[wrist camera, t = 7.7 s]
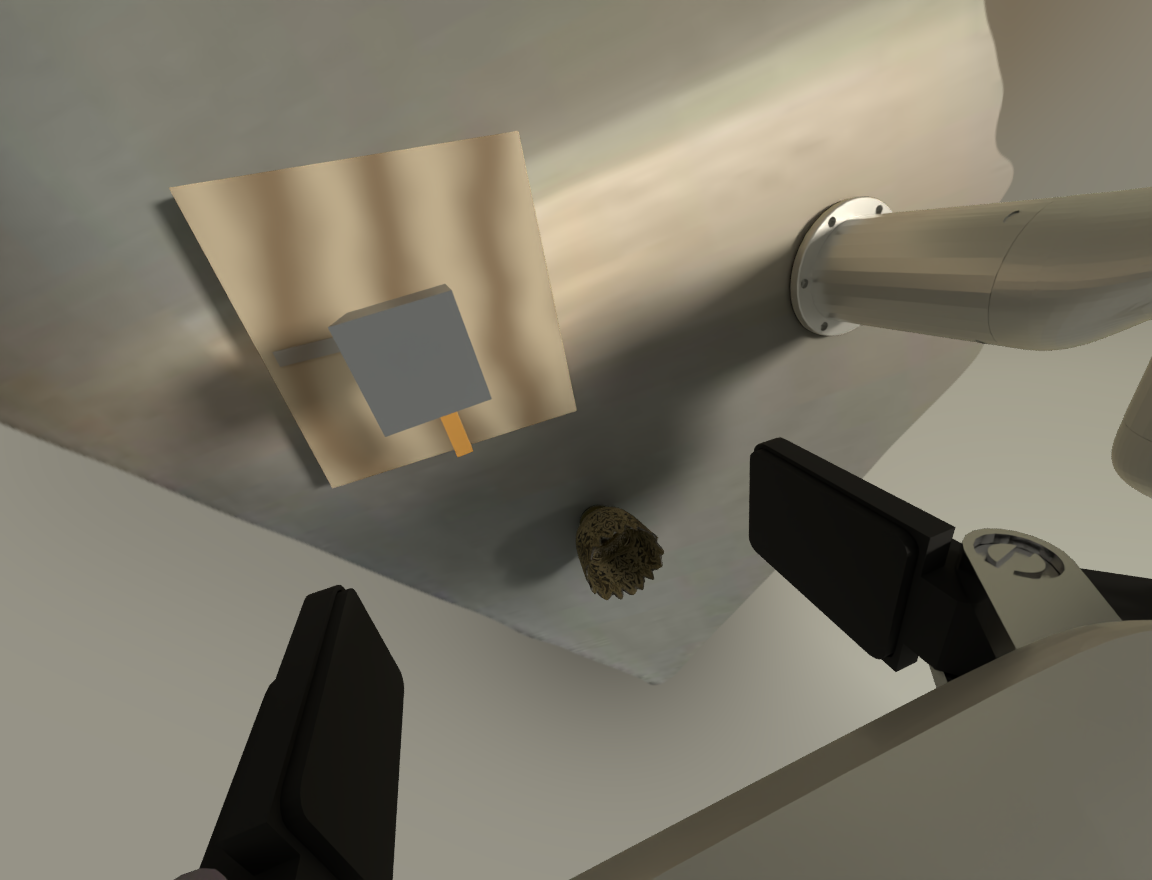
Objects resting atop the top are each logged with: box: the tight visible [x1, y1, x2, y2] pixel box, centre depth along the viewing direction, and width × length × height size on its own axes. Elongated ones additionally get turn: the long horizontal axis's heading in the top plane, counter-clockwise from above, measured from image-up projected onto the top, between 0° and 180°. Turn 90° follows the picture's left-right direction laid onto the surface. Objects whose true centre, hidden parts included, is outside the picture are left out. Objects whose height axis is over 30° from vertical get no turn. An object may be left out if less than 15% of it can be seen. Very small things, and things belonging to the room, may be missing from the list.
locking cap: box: [328, 284, 492, 457], centre depth 22 cm, size 10×5×7 cm, turn 15°
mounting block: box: [169, 131, 577, 488], centre depth 28 cm, size 20×20×8 cm
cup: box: [576, 505, 664, 600], centre depth 40 cm, size 8×7×8 cm
